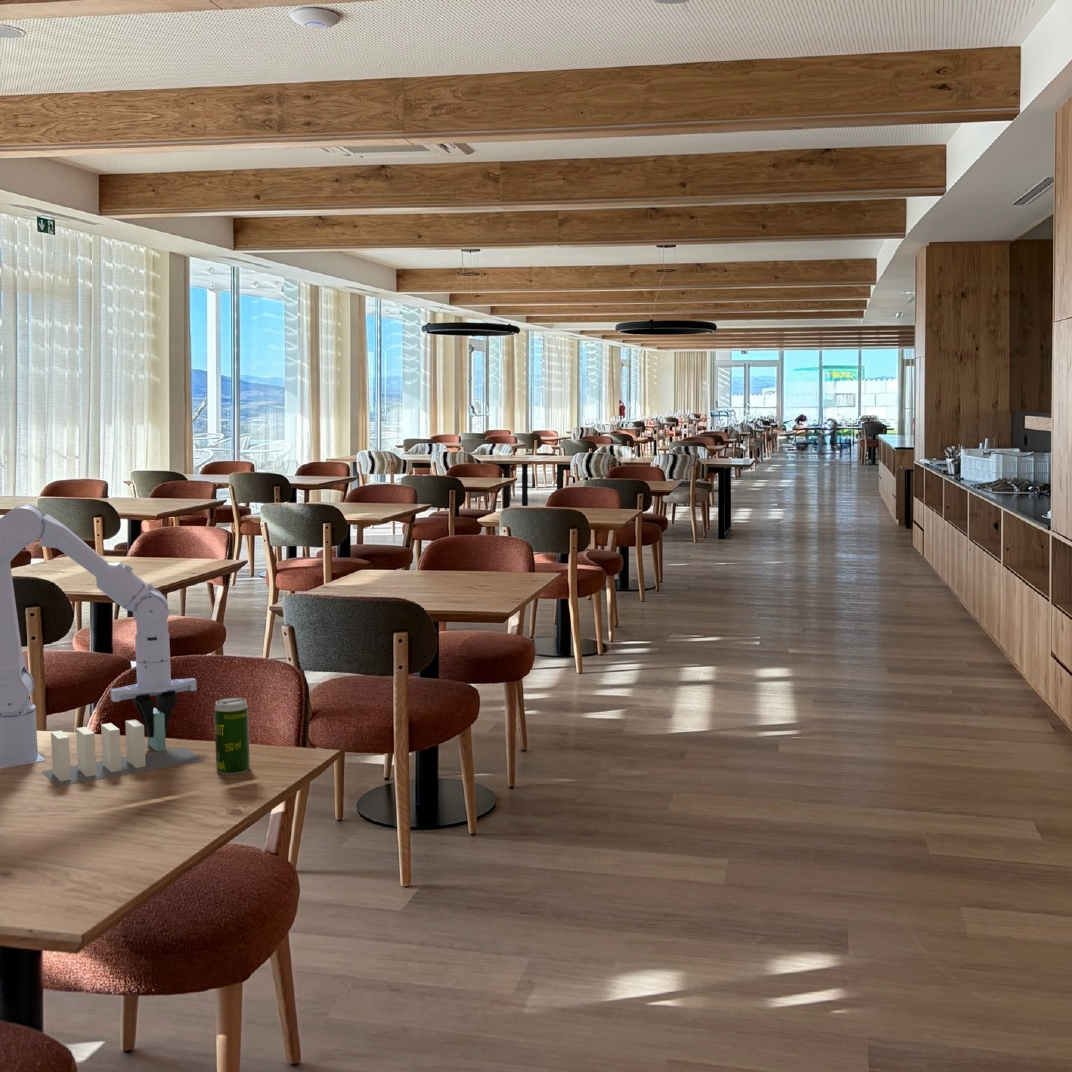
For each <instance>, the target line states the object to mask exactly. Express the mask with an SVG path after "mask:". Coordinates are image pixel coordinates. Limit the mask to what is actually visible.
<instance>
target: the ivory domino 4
mask: <svg viewBox="0 0 1072 1072" xmlns="http://www.w3.org/2000/svg"><path fill="white" fill-rule="evenodd" d="M124 721H125V723H124V724H125V744H126V745H125V746H126V757H127V761H128V762H129V763H130V764H131V765H133V766H134V767H135V768H139V767H144V766H146V764H145V754H146V748H145V747H146V741H145V727H144V724H143V723H141V722H140V721H139V720H137V719H136V718H135V719H129V720H128V719H127V720H124Z"/></svg>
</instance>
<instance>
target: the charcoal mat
mask: <svg viewBox="0 0 1072 1072" xmlns="http://www.w3.org/2000/svg"><path fill="white" fill-rule="evenodd" d="M203 761H205V759H203V758H202V757H200V756H199V755H198V754H196V753H194V752H192V751H191V750H190V749H189V748H187V747H185V746H183V747H177V748H172V749H170V748H169V749H166V750H161V751H154V752H152V751H151V752H148V753H146V752H145V764H146V766H144V767H139V768H135V767H134V766H133V765H131V764H130V763H129V762H128V761H127V756H124V757H121V771H116V772H110V771H109V770H108V769H107V768H106V767H105V766H103V760H99V761H96V775H93V776H88V777H86V776H85V775H84V774H83V773H82V772H81V771H79V770H78V764H76V765H73V766H71V765H70V770H71V780H65V781H60V780H59V779H58V778H57V777H56V776H55V775H54V774H53V768H51V769H47V770H42V771H41V773H42V774H43V776H45V777H46V778H47V779H48V780H49V781H50V782H51V783H52V784H53V786H55V787H57V788H58V787H63V786H69V785H75V784H81V783H87V782H91V781H92V782H93V781H97V780H104V779H108V778H109V779H110V778H114V777H119V776H125V775H131V774H137V773H142V772H147V771H154V770H159V769H165V768H170V767H176V766H181V765H186V764H193V763H197V762H203Z"/></svg>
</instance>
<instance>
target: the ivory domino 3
mask: <svg viewBox="0 0 1072 1072" xmlns="http://www.w3.org/2000/svg"><path fill="white" fill-rule="evenodd" d="M100 729H101V731H100V732H101V746H102V747H101V748H102V749H101V753H102V757H101V758H102V761H103V766H105V767H106V768H107V769H108V770H109V771H110V772H116V771H121V758H122V757H121V756H122V755H121V754H122V753H121V733H120V732H121V731H120V728H118V727H117V726H116V725H114V724H113V723H112V722H109V723H101V724H100Z"/></svg>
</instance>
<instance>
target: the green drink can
mask: <svg viewBox="0 0 1072 1072" xmlns="http://www.w3.org/2000/svg"><path fill="white" fill-rule="evenodd" d="M213 711H214V714H213V715H214V734H215V735H214V738H215V740H214V741H215V766H216V767H215V768H216V769H215V770H216V772H217V773H218V774H221V775H238V774H242V773H243V774H244V773H245V772H248V771H249V770H250V768H251V765H250V763H251V762H250V758H251V757H250V734H249V733H250V732H249V728H250V727H249V706H248V703H247V700H246V698H242V697H241V698H239V697H229V698H228V697H227V698H223V699H222V698H221V699H219V700H216V701H215V707H214V710H213Z"/></svg>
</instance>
